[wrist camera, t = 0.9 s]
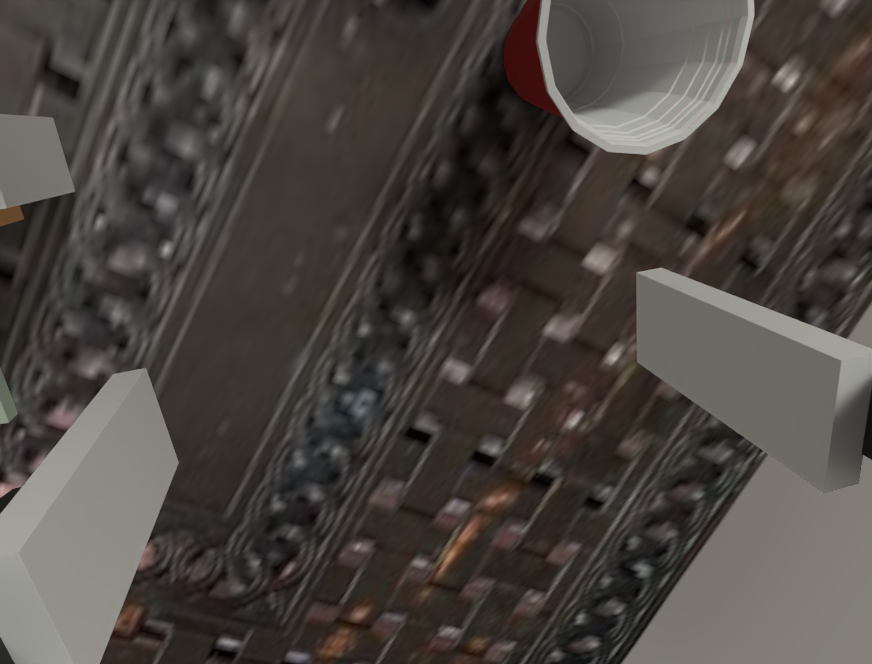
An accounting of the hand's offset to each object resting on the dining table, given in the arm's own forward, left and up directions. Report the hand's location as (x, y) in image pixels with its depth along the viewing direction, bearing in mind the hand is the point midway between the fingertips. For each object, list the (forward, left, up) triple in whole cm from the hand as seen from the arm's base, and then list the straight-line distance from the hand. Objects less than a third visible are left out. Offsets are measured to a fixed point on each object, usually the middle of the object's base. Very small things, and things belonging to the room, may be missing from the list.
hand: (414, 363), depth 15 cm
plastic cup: (-9, +14, -23) cm, 29 cm away
